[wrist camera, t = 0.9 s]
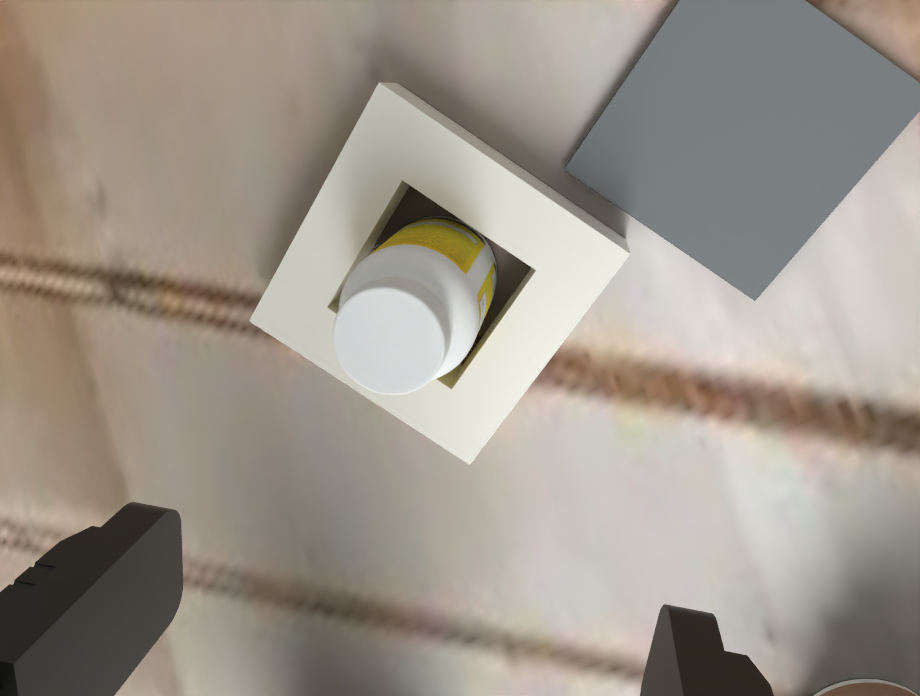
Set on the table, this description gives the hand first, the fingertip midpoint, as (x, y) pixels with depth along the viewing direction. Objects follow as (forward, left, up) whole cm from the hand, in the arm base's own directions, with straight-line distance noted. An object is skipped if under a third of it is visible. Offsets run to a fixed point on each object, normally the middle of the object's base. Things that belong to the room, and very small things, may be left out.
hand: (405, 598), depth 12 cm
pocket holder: (-2, +3, -23) cm, 23 cm away
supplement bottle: (-2, +3, -23) cm, 23 cm away
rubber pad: (+10, -4, -23) cm, 25 cm away
